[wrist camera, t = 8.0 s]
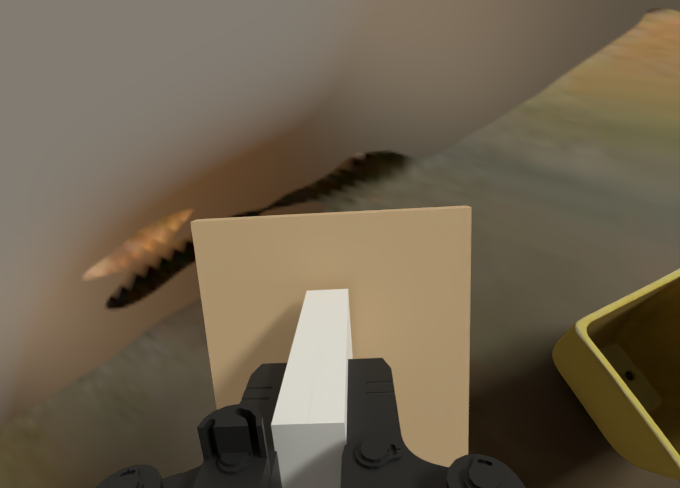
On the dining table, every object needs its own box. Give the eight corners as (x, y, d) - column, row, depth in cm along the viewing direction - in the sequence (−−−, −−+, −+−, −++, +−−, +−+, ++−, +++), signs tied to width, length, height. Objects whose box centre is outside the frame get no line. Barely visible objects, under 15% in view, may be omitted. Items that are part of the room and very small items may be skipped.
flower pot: (518, 354, 30) (571, 322, 22) (613, 306, 31) (696, 259, 23) (599, 477, 26) (699, 491, 18) (703, 417, 27) (840, 406, 19)
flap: (463, 524, 17) (466, 205, 14) (467, 537, 17) (471, 207, 14) (238, 526, 18) (197, 219, 15) (234, 538, 17) (190, 221, 14)
